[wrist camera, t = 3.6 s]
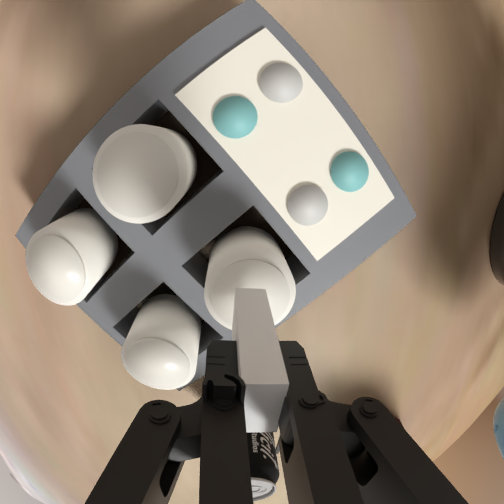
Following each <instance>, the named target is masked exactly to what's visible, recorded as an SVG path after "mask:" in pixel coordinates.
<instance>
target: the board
mask: <svg viewBox="0 0 504 504" xmlns="http://www.w3.org/2000/svg"><path fill="white" fill-rule="evenodd" d="M168 110H169V111H170V112H171V113H172V114H173V115H174V116H175V117H176V119H177V120H178V121H179V122H180V123H181V124H182V125H183V126H184V127H185V128H186V130H187V131H188V132H189V133H190V134H191V135H192V136H193V137H194V138H195V140H196V141H197V142H198V143H199V144H200V145H201V146H202V147H203V148H204V150H205V151H206V152H207V153H208V154H209V155H210V156H211V157H212V159H213V160H214V161H215V162H216V163H217V164H218V165H219V166H220V168H221V170H220V171H219V172H217V173H216V174H215V175H214V176H213V177H212V178H211V179H209V180H208V181H207V182H206V183H205V184H204V185H202V186H201V187H200V188H199V189H198V190H197V191H196V192H195V193H193V194H192V195H191V196H190V197H189V198H188V199H187V200H186V201H185V202H183V203H182V204H181V205H180V206H179V207H178V208H177V209H176V210H175V211H174V212H173V213H171V214H170V215H169V216H168V217H167V218H165V217H164V216H163V217H161V218H160V219H157V220H155V221H152V222H149V223H143V224H136V223H129V222H125V221H123V220H120V219H118V218H116V217H115V216H113V215H112V214H111V213H109V212H108V211H107V210H106V209H105V208H104V206H103V205H102V204H101V202H100V201H99V199H98V197H97V195H96V192H95V189H94V185H93V176H92V173H93V165H94V160H95V157H96V155H97V152H98V150H99V148H100V147H101V145H102V144H103V143H104V141H105V140H106V139H107V138H108V137H109V136H110V135H111V134H113V133H114V132H115V131H117V130H119V129H121V128H123V127H126V126H129V125H134V124H147V125H153V124H154V123H155V122H156V121H157V120H158V119H159V118H160V117H162V116H163V115H164V114H165V113H166V112H167V111H168ZM84 198H85V199H86V200H87V201H88V202H89V204H90V205H91V206H92V207H93V208H94V209H95V210H96V211H97V213H98V214H99V215H100V216H101V217H102V218H103V219H104V220H105V221H106V223H107V224H108V225H109V226H110V227H111V228H112V229H113V230H114V231H115V232H116V233H117V235H118V236H119V237H120V238H121V239H122V240H123V241H124V242H125V243H126V244H127V245H128V246H129V247H130V248H131V249H132V250H133V251H132V252H131V253H130V254H129V255H128V256H127V257H126V258H125V259H124V260H123V261H122V262H121V263H120V264H119V265H118V266H117V267H116V268H115V269H114V270H113V271H112V272H111V273H110V275H109V276H108V277H107V278H106V277H105V276H104V275H103V276H102V277H101V279H100V280H99V281H98V282H97V283H96V285H95V286H94V287H93V288H92V289H91V291H90V292H89V293H88V294H87V296H86V297H85V298H84V299H83V300H82V301H81V302H79V303H77V305H78V306H79V307H80V308H81V309H82V310H83V311H84V312H85V313H86V314H87V315H88V316H89V317H90V318H91V319H92V320H93V321H94V322H95V323H97V324H98V325H99V326H100V327H101V328H102V329H103V330H104V331H105V332H106V333H108V334H109V335H110V336H111V337H112V338H113V339H114V340H115V341H117V342H118V343H119V344H120V345H121V346H123V344H124V342H125V340H126V337H127V335H128V333H129V331H130V329H131V326H132V324H133V322H134V320H135V318H136V316H137V314H138V312H139V309H138V308H137V307H136V306H137V305H138V304H139V303H140V302H141V301H142V300H143V299H145V298H146V297H147V296H148V295H149V294H150V293H151V292H152V291H154V290H155V289H156V288H157V287H158V286H159V285H160V284H161V283H163V282H164V283H165V284H166V285H167V286H168V287H169V288H171V289H172V290H173V291H174V292H175V293H176V294H177V295H178V296H179V297H180V298H181V299H182V300H183V301H184V302H185V303H186V304H187V305H188V306H189V307H191V308H192V309H193V310H194V311H195V312H196V313H197V314H198V315H199V316H200V317H201V318H202V319H204V320H205V322H204V323H203V324H201V334H200V342H199V350H198V358H197V366H196V372H195V375H194V377H193V379H192V380H191V381H190V382H189V383H188V384H186V385H184V386H183V387H180V388H176V389H177V390H179V391H180V390H181V389H183V388H185V387H186V386H188V385H190V384H191V383H193V382H194V381H196V380H198V379H199V378H201V377H203V376H204V375H205V368H206V353H207V346H208V345H209V344H210V342H211V341H212V340H230V341H232V330H231V329H228V328H226V327H224V326H223V325H221V324H220V323H219V322H217V321H216V320H215V319H214V318H213V317H212V315H211V314H210V312H209V311H208V309H207V306H206V303H205V299H204V288H205V282H206V276H207V270H208V264H209V263H208V262H207V261H206V260H205V259H204V258H203V257H202V256H201V255H200V254H199V253H198V251H199V250H201V249H202V248H203V247H204V246H205V245H207V244H208V243H209V242H210V241H211V240H212V239H214V238H215V237H216V236H217V235H218V234H220V233H221V232H222V231H223V230H224V229H225V228H227V227H228V226H229V225H230V224H231V223H233V222H234V221H235V220H236V219H237V218H239V217H240V216H241V215H242V214H243V213H245V212H246V211H247V210H248V209H250V208H251V207H252V206H254V207H255V208H256V209H257V210H258V211H259V213H260V214H261V215H262V216H263V217H264V218H265V220H266V221H267V222H268V223H269V224H270V225H271V227H272V228H273V229H274V230H275V231H276V233H277V234H278V235H279V236H280V237H281V239H282V240H283V241H284V242H285V243H286V245H287V246H288V247H289V248H290V249H291V251H292V252H293V253H294V254H293V255H291V256H290V257H289V258H288V259H286V262H287V264H288V267H289V269H290V271H291V273H292V276H293V278H294V281H295V286H296V296H295V301H294V304H293V306H292V308H291V310H290V312H289V313H288V314H287V316H286V317H285V318H284V319H283V320H282V321H281V322H279V323H278V324H276V325H275V328H276V327H277V326H279V325H280V324H282V323H283V322H284V321H286V320H287V319H289V318H290V317H291V316H293V315H294V314H295V313H297V312H298V311H300V310H301V309H302V308H304V307H305V306H306V305H308V304H309V303H310V302H312V301H313V300H314V299H316V298H317V297H318V296H320V295H321V294H322V293H324V292H325V291H326V290H328V289H329V288H330V287H331V286H333V285H334V284H335V283H337V282H338V281H339V280H340V279H342V278H343V277H344V276H346V275H347V274H348V273H349V272H351V271H352V270H353V269H354V268H356V267H357V266H358V265H359V264H361V263H362V262H363V261H364V260H366V259H367V258H368V257H369V256H370V255H372V254H373V253H374V252H375V251H376V250H378V249H379V248H380V247H381V246H382V245H384V244H385V243H386V242H387V241H388V240H390V239H391V238H392V237H393V236H394V235H395V234H397V233H398V232H399V231H400V230H401V229H402V228H404V227H405V226H406V225H407V224H408V223H409V222H410V221H412V220H413V219H414V218H415V217H416V216H417V215H416V213H415V211H414V209H413V207H412V205H411V203H410V202H409V200H408V198H407V196H406V194H405V192H404V191H403V189H402V187H401V185H400V183H399V182H398V180H397V178H396V177H395V175H394V173H393V171H392V170H391V168H390V166H389V165H388V163H387V161H386V160H385V158H384V157H383V155H382V153H381V152H380V150H379V149H378V147H377V146H376V144H375V143H374V141H373V139H372V138H371V136H370V135H369V133H368V132H367V130H366V129H365V128H364V126H363V125H362V123H361V122H360V120H359V119H358V117H357V116H356V115H355V113H354V112H353V110H352V109H351V108H350V106H349V105H348V104H347V102H346V101H345V100H344V98H343V97H342V96H341V94H340V93H339V92H338V90H337V89H336V88H335V87H334V85H333V84H332V83H331V82H330V80H329V79H328V78H327V77H326V75H325V74H324V73H323V72H322V70H321V69H320V68H319V67H318V66H317V64H316V63H315V62H314V61H313V60H312V59H311V57H310V56H309V55H308V54H307V53H306V52H305V51H304V50H303V48H302V47H301V46H300V45H299V44H298V43H297V42H296V41H295V40H294V39H293V37H292V36H291V35H290V34H289V33H288V32H287V31H286V30H285V29H284V28H283V27H282V26H281V25H280V24H279V23H278V22H277V21H276V20H275V19H274V18H273V17H272V16H271V15H270V14H269V13H268V12H267V11H266V10H265V9H264V8H263V7H262V6H261V5H260V4H258V3H257V2H256V1H255V0H246V1H244V2H243V3H241V4H239V5H238V6H236V7H235V8H233V9H231V10H230V11H228V12H227V13H225V14H224V15H222V16H221V17H219V18H218V19H216V20H215V21H213V22H212V23H210V24H209V25H207V26H206V27H204V28H203V29H202V30H200V31H199V32H197V33H196V34H195V35H193V36H192V37H191V38H189V39H188V40H187V41H185V42H184V43H183V44H182V45H180V46H179V47H178V48H176V49H175V50H174V51H173V52H171V53H170V54H169V55H168V56H167V57H165V58H164V59H163V60H162V61H161V62H159V63H158V64H157V65H156V66H155V67H154V68H152V69H151V70H150V71H149V72H148V73H147V74H146V75H145V76H143V77H142V78H141V79H140V80H139V81H138V82H137V83H136V84H135V85H134V86H133V87H132V88H131V89H130V90H128V91H127V92H126V93H125V94H124V95H123V96H122V97H121V98H120V99H119V100H118V101H117V102H116V103H115V104H114V105H113V106H112V108H111V109H110V110H109V111H108V112H107V113H106V114H105V115H104V116H103V117H102V118H101V119H100V120H99V121H98V123H97V124H96V125H95V126H94V127H93V128H92V129H91V130H90V132H89V133H88V134H87V135H86V136H85V137H84V138H83V140H82V141H81V142H80V143H79V144H78V146H77V147H76V148H75V149H74V151H73V152H72V153H71V154H70V156H69V157H68V158H67V159H66V161H65V162H64V163H63V165H62V166H61V167H60V168H59V170H58V171H57V172H56V174H55V175H54V177H53V178H52V179H51V181H50V182H49V184H48V185H47V186H46V188H45V189H44V191H43V192H42V194H41V195H40V197H39V198H38V200H37V201H36V203H35V204H34V206H33V207H32V209H31V210H30V212H29V213H28V215H27V217H26V218H25V220H24V222H23V223H22V225H21V227H20V228H19V230H18V232H17V233H16V235H15V236H16V237H17V238H18V240H19V241H20V242H21V243H22V244H23V246H24V247H25V248H27V245H28V242H29V240H30V238H31V237H32V236H33V235H34V234H35V233H36V232H37V231H39V230H40V229H42V228H44V227H45V226H47V225H49V224H51V223H53V222H54V221H56V220H58V219H60V218H62V217H63V216H65V215H67V214H69V213H71V212H73V211H74V210H75V209H76V208H77V206H78V205H79V204H80V203H81V201H82V200H83V199H84Z"/></svg>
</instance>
